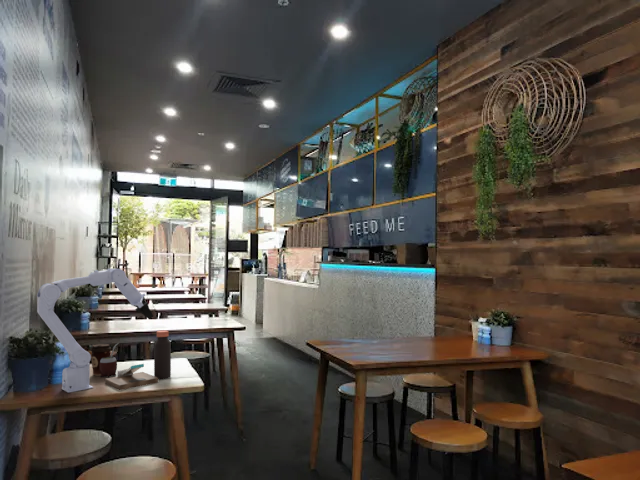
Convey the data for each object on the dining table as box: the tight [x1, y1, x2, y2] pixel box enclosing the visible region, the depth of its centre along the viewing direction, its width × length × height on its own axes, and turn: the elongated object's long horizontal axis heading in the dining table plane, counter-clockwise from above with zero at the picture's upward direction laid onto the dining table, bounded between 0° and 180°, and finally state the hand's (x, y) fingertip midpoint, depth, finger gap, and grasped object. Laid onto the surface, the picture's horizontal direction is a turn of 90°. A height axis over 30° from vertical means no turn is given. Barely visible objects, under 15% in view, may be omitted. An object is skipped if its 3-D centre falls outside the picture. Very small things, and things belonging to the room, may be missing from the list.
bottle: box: [153, 329, 172, 380], centre depth 209 cm, size 7×7×20 cm
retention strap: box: [121, 363, 145, 376], centre depth 200 cm, size 5×12×1 cm, turn 45°
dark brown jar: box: [89, 343, 112, 377], centre depth 216 cm, size 9×8×13 cm
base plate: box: [104, 368, 159, 391], centre depth 201 cm, size 16×14×4 cm
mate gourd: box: [99, 341, 121, 378], centre depth 212 cm, size 8×8×15 cm
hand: (149, 315), depth 211 cm, fingers open, 7 cm apart
